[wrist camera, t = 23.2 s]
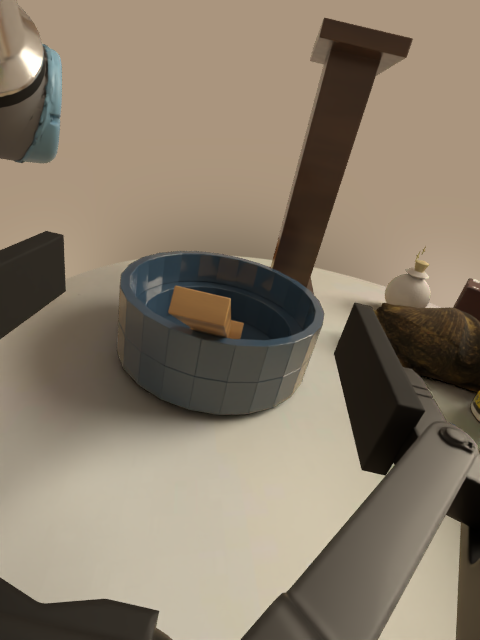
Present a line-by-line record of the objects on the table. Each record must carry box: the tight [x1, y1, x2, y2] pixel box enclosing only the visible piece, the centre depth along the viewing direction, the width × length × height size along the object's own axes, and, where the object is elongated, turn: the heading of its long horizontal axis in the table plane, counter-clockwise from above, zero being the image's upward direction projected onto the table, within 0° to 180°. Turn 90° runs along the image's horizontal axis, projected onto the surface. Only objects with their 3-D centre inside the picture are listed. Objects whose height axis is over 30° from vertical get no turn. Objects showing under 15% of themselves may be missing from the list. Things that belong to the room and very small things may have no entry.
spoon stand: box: [267, 18, 413, 295], centre depth 43 cm, size 12×8×29 cm, turn 174°
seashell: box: [373, 303, 480, 392], centre depth 40 cm, size 16×9×7 cm, turn 80°
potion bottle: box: [385, 248, 431, 308], centre depth 51 cm, size 6×7×10 cm
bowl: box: [117, 251, 324, 415], centre depth 33 cm, size 18×18×7 cm
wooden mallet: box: [168, 286, 244, 339], centre depth 25 cm, size 21×4×2 cm
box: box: [453, 279, 480, 322], centre depth 49 cm, size 6×6×7 cm
